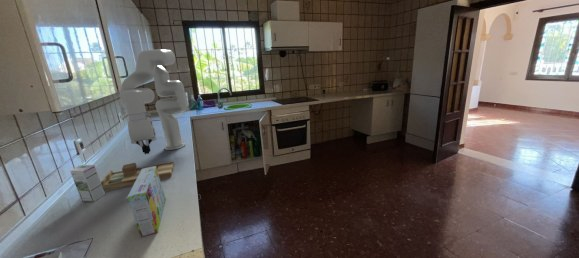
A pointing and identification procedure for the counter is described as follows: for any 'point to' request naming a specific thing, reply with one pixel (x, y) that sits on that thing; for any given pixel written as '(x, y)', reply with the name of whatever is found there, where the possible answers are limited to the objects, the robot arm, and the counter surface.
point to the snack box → (147, 201)
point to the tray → (134, 176)
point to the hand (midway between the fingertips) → (147, 153)
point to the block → (129, 169)
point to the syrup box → (87, 183)
